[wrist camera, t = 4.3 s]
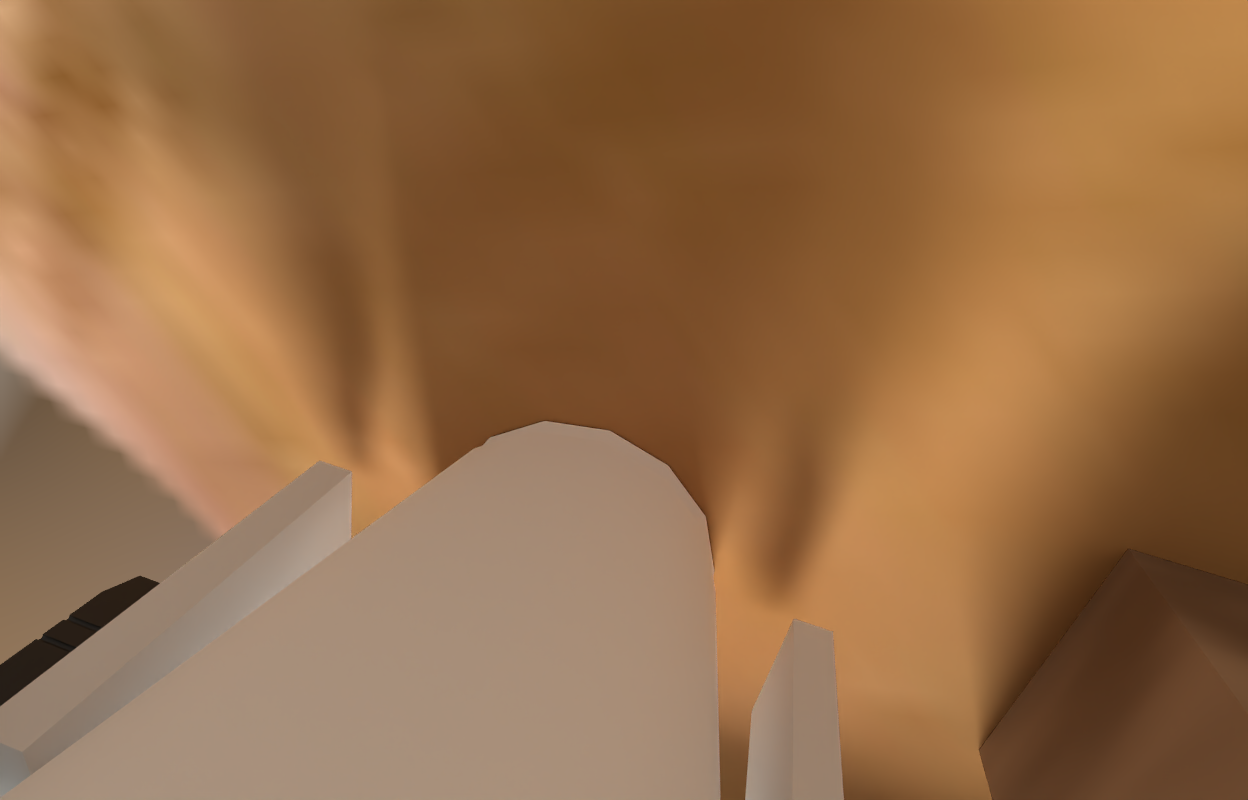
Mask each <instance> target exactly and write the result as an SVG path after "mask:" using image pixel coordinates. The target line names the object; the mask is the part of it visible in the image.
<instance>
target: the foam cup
mask: <svg viewBox="0 0 1248 800" xmlns="http://www.w3.org/2000/svg"><path fill="white" fill-rule="evenodd" d="M713 575H714V566H713V559H712V553H711V547H710V540H709V534H708V527H707V521H706V516H705V515H704V514H703V512H702V511H701V509H700V508H699V507H698V505H697V504H696V503H695V501H694V500H693V499H692V497H691V496H690V494H689V493H688V492H687V490H686V489H685V488H684V486H683V485H682V484H681V482H680V481H679V479H678V478H677V477H676V475H675V474H674V473H673V471H672V470H671V469H670V467H669V466H668V465H667V464H665V463H663V462H662V461H660V460H658V459H656V458H655V457H653V456H651V455H650V454H648V453H646V452H645V451H643V450H641V449H640V448H638V447H636V446H635V445H633V444H631V443H630V442H628V441H626V440H625V439H623V438H621V437H620V436H618V435H616V434H615V433H613V432H611V431H609V430H603V429H596V428H589V427H582V426H576V425H569V424H562V423H556V422H549V421H543V422H539V423H536V424H533V425H529V426H526V427H523V428H519V429H516V430H513V431H510V432H506V433H503V434H500V435H496V436H493V437H490V438H489V439H488V440H487V441H486V442H485V443H484V444H483V446H480V447H476V448H474V449H472V450H471V451H470V452H468V453H467V454H466V455H464V456H463V457H461V458H460V459H459V460H457V461H456V462H455V463H453V464H452V465H451V466H449V467H448V468H447V469H445V470H444V471H442V472H441V473H440V474H438V475H437V476H436V477H434V478H433V479H432V480H430V481H429V482H428V483H426V484H425V485H424V486H422V487H421V488H419V489H418V490H417V491H415V492H414V493H413V494H411V495H410V496H409V497H407V498H406V499H405V500H403V501H402V502H400V503H399V504H398V505H396V506H395V507H394V508H392V509H391V510H390V511H388V512H387V513H386V514H384V515H383V516H381V517H380V518H379V519H377V520H376V521H375V522H373V523H372V524H371V525H369V526H368V527H367V528H365V529H364V530H363V531H361V532H360V533H358V534H357V535H356V536H354V537H353V538H352V539H350V540H349V541H348V542H346V543H345V544H344V545H342V546H341V547H339V548H338V549H337V550H335V551H334V552H333V553H331V554H330V555H329V556H327V557H326V558H325V559H323V560H322V561H320V562H319V563H318V564H316V565H315V566H314V567H312V568H311V569H310V570H308V571H307V572H306V573H304V574H303V575H302V576H300V577H299V578H297V579H296V580H295V581H293V582H292V583H291V584H289V585H288V586H287V587H285V588H284V589H283V590H281V591H280V592H278V593H277V594H276V595H274V596H273V597H272V598H270V599H269V600H268V601H266V602H265V603H264V604H262V605H261V606H259V607H258V608H257V609H255V610H254V611H253V612H251V613H250V614H249V615H247V616H246V617H245V618H243V619H242V620H240V621H239V622H238V623H236V624H235V625H234V626H232V627H231V628H230V629H228V630H227V631H226V632H224V633H223V634H222V635H220V636H219V637H217V638H216V639H215V640H213V641H212V642H211V643H209V644H208V645H207V646H205V647H204V648H203V649H201V650H200V651H198V652H197V653H196V654H194V655H193V656H192V657H190V658H189V659H188V660H186V661H185V662H184V663H182V664H181V665H179V666H178V667H177V668H175V669H174V670H173V671H171V672H170V673H169V674H167V675H166V676H165V677H163V678H162V679H161V680H159V681H158V682H156V683H155V684H154V685H152V686H151V687H150V688H148V689H147V690H146V691H144V692H143V693H142V694H140V695H139V696H137V697H136V698H135V699H133V700H132V701H131V702H129V703H128V704H127V705H125V706H124V707H123V708H121V709H120V710H118V711H117V712H116V713H114V714H113V715H112V716H110V717H109V718H108V719H106V720H105V721H104V722H102V723H101V724H99V725H98V726H97V727H95V728H94V729H93V730H91V731H90V732H89V733H87V734H86V735H85V736H83V737H82V738H81V739H79V740H78V741H76V742H75V743H74V744H72V745H71V746H70V747H68V748H67V749H66V750H64V751H63V752H62V753H60V754H59V755H57V756H56V757H55V758H53V759H52V760H51V761H49V762H48V763H47V764H45V765H44V766H43V767H41V768H40V769H38V770H37V771H36V772H34V773H33V774H32V775H30V776H29V777H28V778H26V779H25V780H24V781H22V782H21V783H20V784H18V785H17V786H15V787H14V788H13V789H11V790H10V791H9V792H7V793H6V794H5V795H3V796H2V797H1V798H0V800H721V799H720V757H719V715H718V674H717V632H716V591H715V585H714V579H713Z"/></svg>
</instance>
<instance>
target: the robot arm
mask: <svg viewBox="0 0 1248 800" xmlns="http://www.w3.org/2000/svg"><path fill="white" fill-rule="evenodd" d="M351 512H352V471H349V470H346V469H343V468H340V467H337V466H334V465H331V464H328V463H325V462H322V461H318V462H317V463H316V464H314V465H313V466H312V467H311V468H309V469H308V470H307V471H305V472H304V473H303V474H301V475H300V476H299V477H298V478H296V479H295V480H294V481H292V482H291V483H290V484H288V485H287V486H286V487H285V488H283V489H282V490H281V491H279V492H278V493H277V494H275V495H274V496H273V497H272V498H270V499H269V500H268V501H266V502H265V503H264V504H263V505H261V506H260V507H259V508H257V509H256V510H255V511H253V512H252V513H251V514H250V515H248V516H247V517H246V518H244V519H243V520H242V521H240V522H239V523H238V524H237V525H235V526H234V527H233V528H231V529H230V530H229V531H227V532H226V533H225V534H224V535H222V536H221V537H220V538H218V539H217V540H216V541H214V542H213V543H212V544H211V545H209V546H208V547H207V548H205V549H204V550H203V551H201V552H200V553H199V554H198V555H196V556H195V557H194V558H192V559H191V560H190V561H188V562H187V563H186V564H185V565H183V566H182V567H181V568H179V569H178V570H177V571H175V572H174V573H173V574H172V575H171V576H169V577H168V578H166V579H165V580H164V581H162V582H161V583H158V582H156V581H153V580H150V579H147V578H145V577H142V576H138V577H136V578H134V579H131V580H129V581H127V582H125V583H122V584H119V585H117V586H115V587H112V588H110V589H108V590H105V591H103V592H101V593H100V594H98V595H97V596H96V597H94V598H93V599H91V600H90V601H89V602H87V603H86V604H84V605H83V606H82V607H80V608H79V609H78V610H76V611H75V612H73V613H72V614H71V615H70V617H69V618H68V619H67V620H62V621H61V622H59V623H58V624H57V625H55V626H54V627H52V628H51V629H50V630H48V631H47V632H45V633H44V634H43V637H42V638H41V639H39V640H37V639H36V640H34V641H33V642H32V643H30V644H29V645H27V646H26V647H25V648H23V649H22V650H21V651H19V652H18V653H16V654H15V655H13V656H12V657H11V658H9V659H8V660H7V661H5V662H4V663H2V664H1V665H0V798H1V797H2V796H3V795H5V794H6V793H7V792H9V791H10V790H11V789H13V788H14V787H15V786H17V785H18V784H20V783H21V782H22V781H24V780H25V779H26V778H28V777H29V776H30V775H32V774H33V773H34V772H36V771H37V770H38V769H40V768H41V767H43V766H44V765H45V764H47V763H48V762H49V761H51V760H52V759H53V758H55V757H56V756H57V755H59V754H60V753H62V752H63V751H64V750H66V749H67V748H68V747H70V746H71V745H72V744H74V743H75V742H76V741H78V740H79V739H81V738H82V737H83V736H85V735H86V734H87V733H89V732H90V731H91V730H93V729H94V728H95V727H97V726H98V725H99V724H101V723H102V722H104V721H105V720H106V719H108V718H109V717H110V716H112V715H113V714H114V713H116V712H117V711H118V710H120V709H121V708H123V707H124V706H125V705H127V704H128V703H129V702H131V701H132V700H133V699H135V698H136V697H137V696H139V695H140V694H142V693H143V692H144V691H146V690H147V689H148V688H150V687H151V686H152V685H154V684H155V683H156V682H158V681H159V680H161V679H162V678H163V677H165V676H166V675H167V674H169V673H170V672H171V671H173V670H174V669H175V668H177V667H178V666H179V665H181V664H182V663H184V662H185V661H186V660H188V659H189V658H190V657H192V656H193V655H194V654H196V653H197V652H198V651H200V650H201V649H203V648H204V647H205V646H207V645H208V644H209V643H211V642H212V641H213V640H215V639H216V638H217V637H219V636H220V635H222V634H223V633H224V632H226V631H227V630H228V629H230V628H231V627H232V626H234V625H235V624H236V623H238V622H239V621H240V620H242V619H243V618H245V617H246V616H247V615H249V614H250V613H251V612H253V611H254V610H255V609H257V608H258V607H259V606H261V605H262V604H264V603H265V602H266V601H268V600H269V599H270V598H272V597H273V596H274V595H276V594H277V593H278V592H280V591H281V590H283V589H284V588H285V587H287V586H288V585H289V584H291V583H292V582H293V581H295V580H296V579H297V578H299V577H300V576H302V575H303V574H304V573H306V572H307V571H308V570H310V569H311V568H312V567H314V566H315V565H316V564H318V563H319V562H320V561H322V560H323V559H325V558H326V557H327V556H329V555H330V554H331V553H333V552H334V551H335V550H337V549H338V548H339V547H341V546H342V545H344V544H345V543H346V542H348V541H349V540H350V539H351ZM745 800H844V794H843V778H842V763H841V748H840V732H839V717H838V702H837V686H836V671H835V655H834V640H833V632H832V631H829V630H826V629H823V628H820V627H817V626H814V625H811V624H808V623H805V622H802V621H799V620H796V619H793V622H792V624H791V626H790V628H789V630H788V632H787V635H786V637H785V639H784V641H783V643H782V646H781V648H780V650H779V652H778V654H777V656H776V659H775V661H774V663H773V665H772V667H771V670H770V672H769V674H768V676H767V678H766V681H765V683H764V685H763V687H762V689H761V691H760V694H759V696H758V698H757V700H756V702H755V705H754V707H753V709H752V715H751V729H750V742H749V756H748V769H747V783H746V796H745Z"/></svg>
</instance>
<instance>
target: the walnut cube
mask: <svg viewBox="0 0 1248 800" xmlns="http://www.w3.org/2000/svg"><path fill="white" fill-rule="evenodd" d="M979 752H980V756H981V760H982V763H983V767H984V771H985V774H986V778H987V781H988V785H989V789H990V792H991V796H992V800H1248V585H1247V584H1244V583H1241V582H1237V581H1234V580H1231V579H1227V578H1224V577H1221V576H1217V575H1214V574H1211V573H1208V572H1204V571H1201V570H1198V569H1194V568H1191V567H1188V566H1184V565H1181V564H1178V563H1174V562H1171V561H1168V560H1164V559H1161V558H1158V557H1154V556H1151V555H1148V554H1144V553H1141V552H1138V551H1135V550H1131V549H1128V550H1127V551H1126V552H1125V554H1124V555H1123V556H1122V558H1121V559H1120V560H1119V562H1118V563H1117V564H1116V566H1115V567H1114V568H1113V570H1112V571H1111V573H1110V574H1109V575H1108V577H1107V578H1106V579H1105V581H1104V582H1103V583H1102V585H1101V586H1100V587H1099V589H1098V590H1097V591H1096V593H1095V594H1094V595H1093V597H1092V598H1091V600H1090V601H1089V602H1088V604H1087V605H1086V606H1085V608H1084V609H1083V610H1082V612H1081V613H1080V614H1079V616H1078V617H1077V618H1076V620H1075V621H1074V622H1073V624H1072V625H1071V627H1070V628H1069V629H1068V631H1067V632H1066V633H1065V635H1064V636H1063V637H1062V639H1061V640H1060V641H1059V643H1058V644H1057V645H1056V647H1055V648H1054V650H1053V651H1052V652H1051V654H1050V655H1049V656H1048V658H1047V659H1046V660H1045V662H1044V663H1043V664H1042V666H1041V667H1040V668H1039V670H1038V671H1037V672H1036V674H1035V675H1034V677H1033V678H1032V679H1031V681H1030V682H1029V683H1028V685H1027V686H1026V687H1025V689H1024V690H1023V691H1022V693H1021V694H1020V695H1019V697H1018V698H1017V699H1016V701H1015V702H1014V704H1013V705H1012V706H1011V708H1010V709H1009V710H1008V712H1007V713H1006V714H1005V716H1004V717H1003V718H1002V720H1001V721H1000V722H999V724H998V725H997V727H996V728H995V729H994V731H993V732H992V733H991V735H990V736H989V737H988V739H987V740H986V741H985V743H984V744H983V745H982V747H981V748H980V749H979Z"/></svg>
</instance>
